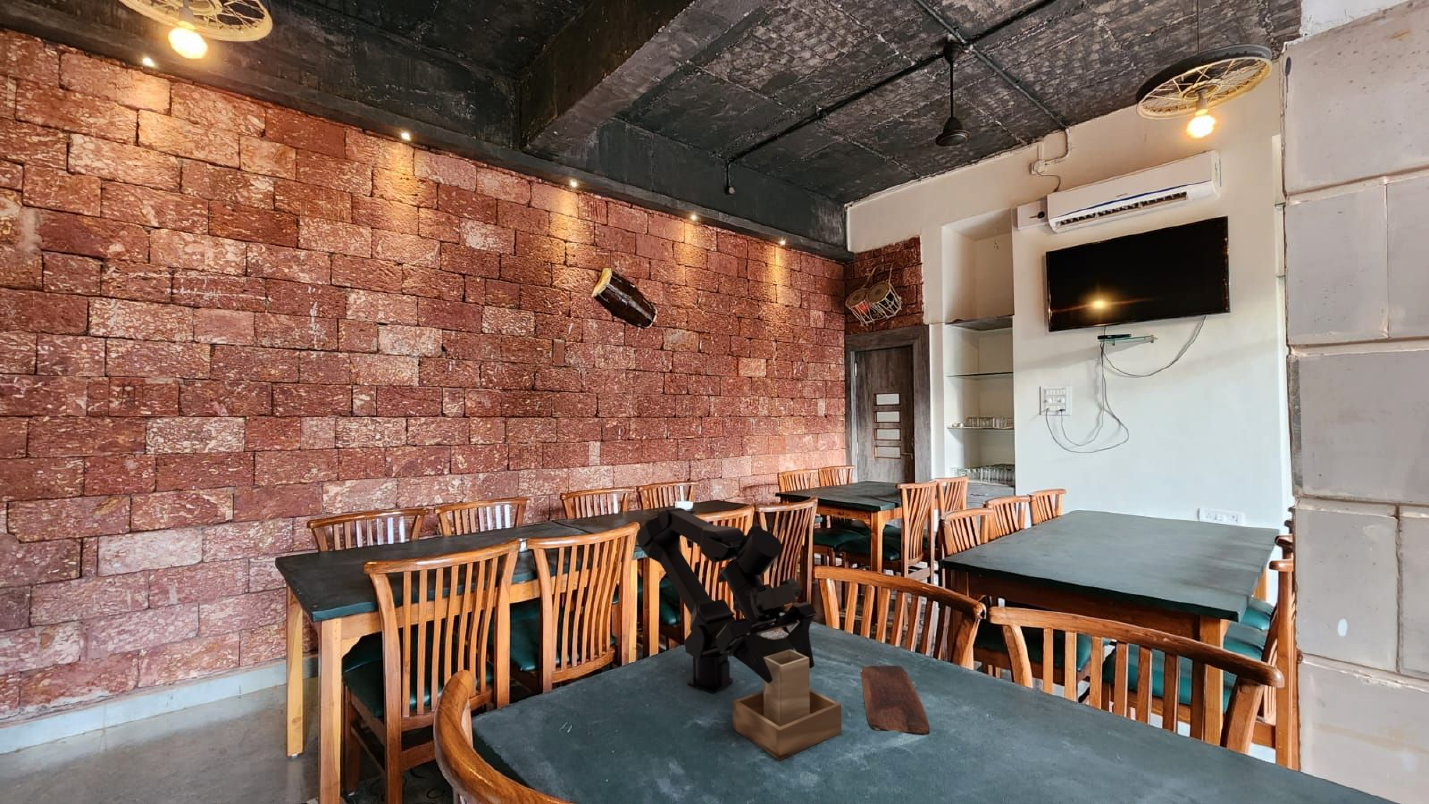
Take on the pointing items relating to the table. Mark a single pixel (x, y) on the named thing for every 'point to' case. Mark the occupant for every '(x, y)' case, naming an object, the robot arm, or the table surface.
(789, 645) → the sushi
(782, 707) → the birch crate
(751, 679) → the table surface
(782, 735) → the oak crate
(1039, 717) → the table surface
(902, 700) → the wooden tablet
